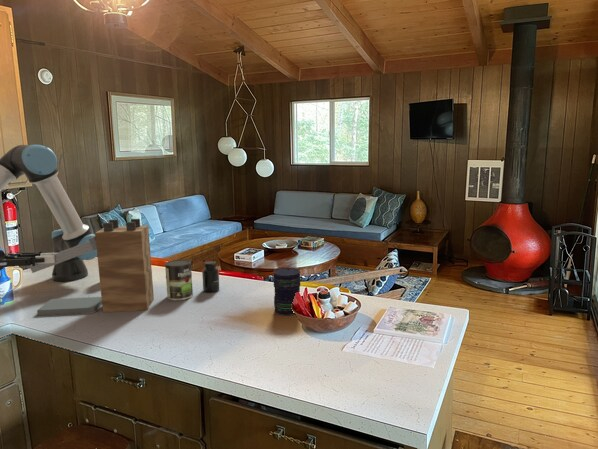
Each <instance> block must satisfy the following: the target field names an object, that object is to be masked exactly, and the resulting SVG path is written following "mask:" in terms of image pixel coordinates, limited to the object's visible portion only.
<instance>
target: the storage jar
mask: <svg viewBox="0 0 598 449" xmlns="http://www.w3.org/2000/svg"><path fill="white" fill-rule="evenodd" d="M272 279H273V288H274V296H273V306H274V313H275V314H277V315H280V316H286V317H287V316H294V313H293V311H292V309H291V304H292V302H293V299H294V296H295V293H296V292H300V290H301V289H300V288H301V270H300V269H299V268H295V267H281V268H277V269H275V270H273V278H272Z"/></svg>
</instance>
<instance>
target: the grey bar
mask: <svg viewBox="0 0 598 449" xmlns="http://www.w3.org/2000/svg"><path fill="white" fill-rule="evenodd" d="M96 249H97V247H96V237H95V236H93V237H92V238H90V239H89V241H88V242H85V243H83V244H80V245H77V246H75V247H72V248H69V249H67V250H64V251H61V252H58V253H56V254H53V255H55V263H44V264H36V263H35V266H32V264H31V265H30V266H28V267H29V269H30V270H31V271H30V272H31V273H32V274H33V273H36V272H40V271H42V270H45V269H47V268H50V267H52V266H53V267H54V265H56V264H58V263H61V262H64V261H66V260H69V259H72V258H74V257H77V256H80V255H82V254H85V253H88V252H90V251H93V250H96ZM53 255H50V256H53Z"/></svg>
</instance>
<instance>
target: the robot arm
mask: <svg viewBox="0 0 598 449" xmlns="http://www.w3.org/2000/svg"><path fill="white" fill-rule="evenodd" d="M57 164H58V158H57V156H56V153H55V152H54V151H53V150H52V149H51V148H50V147H48V146H45V145H42V144H38V143H37V144H36V143H35V144H20V145H16V146H14V147H12V148H10V149H9V150H8V151H6V153H4V154H3V156H1V158H0V192H2V191H3V190H4V189H5V188H6V187H7V186H8V185H9V184H10V183H11V182H14V181H17V180H18V179H19V178H20V177H22V176H23V175H25V176H26V178H27V180H28V182H29V183H30V184H33V185H35V186H36V188H37V190H38V191H39V192H40V195H41V196H42V198H43V199H44V201H45V203H46V204H47V206H48V208H49V210H50V211H51V213H52V215H53V217H54V218H55V220H56V222H57V223H58V225H59V227H60V229H56V230H53V231H51V241H52V250H53V252H46V253H45V252H43V251H42V250H40V251H34V252H33V251H32V252H28V251H27V252H20V251H18V252H16V253H14V252H12V253H7V254H6V253H5V251H4V250H2V249H0V271H2V270H4V269H5V268H9V267H10V268H11V267H24V266H27V267H29V266H30V265H31V264H32V266H35V263H36V264H44V263H55V255H53V254H56V253H58V252H61V251H64V250H67V249H69V248H72V247H75V246H77V245H80V244H83V243H85V242H88V241H89V239H90V238H92V237H93V236H95V233H93V232H92V230H91V228H90V226H89V225H88V224H85V223H83V221H82V219H81V218H80V217H81V216H80V215H79V213H78V212H77V210H76V208H75V206H74V205H73V202H72V201H71V200H70V198H69V196H68V193H67V192H66V190H65V188H64V187H63V184H62V182H61V180H60V179H59V177H58V174H59V169H58V167H57V166H58V165H57ZM50 255H53V256H50ZM95 258H98V257H97V249H96V250H93V251H90V252H88V253H85V254H82V255H80V256H77V257H74V258H72V259H69V260H66V261H64V262H61V263H58V264H56V265H53V268H52V271H51V278H52V281H55V282H68V281H69V282H70V281H75V280H79V279H83V278H86V277H88V275H89V272H88V267H87V266H86V264H85V262H84V261H91V260H94V259H95Z"/></svg>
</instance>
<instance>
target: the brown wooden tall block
mask: <svg viewBox="0 0 598 449" xmlns="http://www.w3.org/2000/svg"><path fill="white" fill-rule="evenodd" d="M102 225H103V228H101V229H99V230H97V231H96V232H95V233H94V234H95V237H96V247H97V257H96V258H97V266H98V275H99V276H98V277H99V285H100V286H99V287H100V295H101V296H100V297H101V298H102V305H101V307H102V313H112V312H114V313H115V312H130V311H131V312H132V311H133V312H134V311H148V310H149V308H150V307H151V305H152V303H153V302H154V300H155V295H154V284H153V282H154V281H153V269H152V268H153V267H152V259H151V258H152V256H151V244H150V243H151V242H150V241H151V240H150V230H149V224H148V225H145V224H143V225H141V219H140V218H131V219H130V221H126V223H125V225H119V219H116V218H115V219H109V220H108V222H103V224H102Z"/></svg>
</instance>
